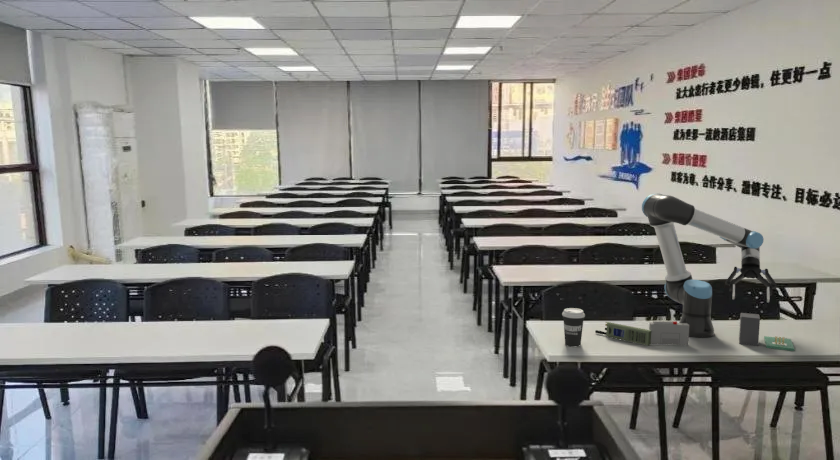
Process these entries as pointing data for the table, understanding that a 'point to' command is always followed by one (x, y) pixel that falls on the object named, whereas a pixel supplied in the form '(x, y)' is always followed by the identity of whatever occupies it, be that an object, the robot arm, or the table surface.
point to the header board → (778, 343)
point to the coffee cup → (573, 326)
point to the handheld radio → (627, 333)
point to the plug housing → (749, 329)
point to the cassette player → (669, 333)
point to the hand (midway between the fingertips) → (750, 299)
